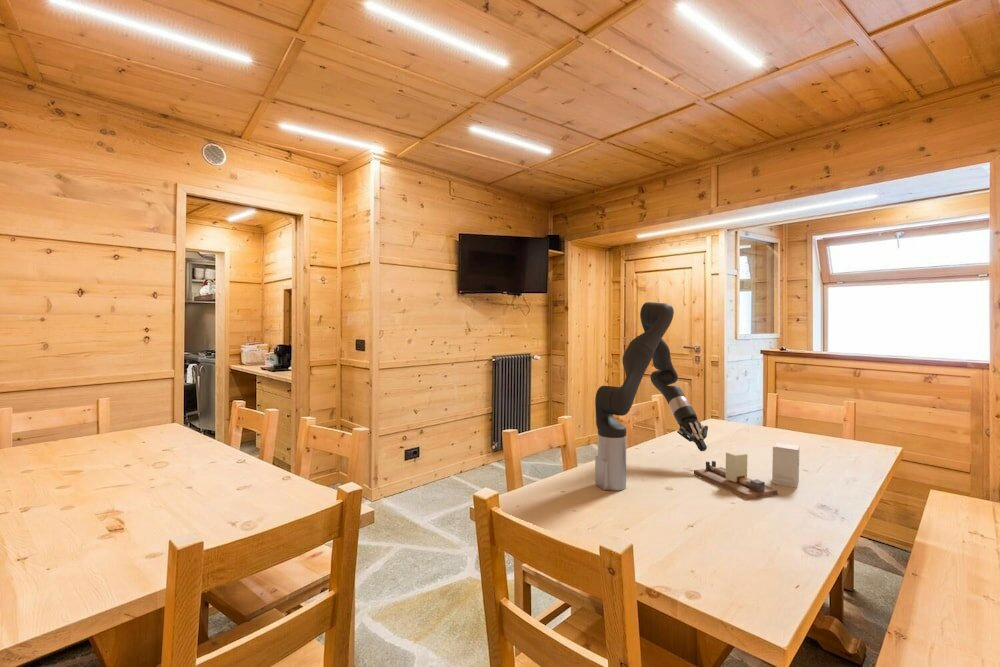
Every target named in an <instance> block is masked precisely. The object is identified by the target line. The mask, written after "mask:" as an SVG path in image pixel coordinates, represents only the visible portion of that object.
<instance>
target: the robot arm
mask: <svg viewBox="0 0 1000 667" xmlns="http://www.w3.org/2000/svg"><path fill="white" fill-rule="evenodd" d="M674 313H675V311H674V308H673V306H672V305H671V304H669V303H665V302H664V303H663V302H654V301H653V302H652V301H647V302H644V303H643V304H642V305H641V308H640V312H639V316H640V323H641V325H642V328H643V331H644V332H642V333H640V334H639V335H637V336H636V337H634V338H633V339H632V340H630V342H629V343H628V345H627V347H626V349H625V350H624V353H623V355H622V359H621V360H622V366H623V369H624V373H625V379H624V381H623V383H622V385H621V386H613V385H612V386H611V385H601V386H599V388H598V389H597V390H596V394H595V399H594V400H595V401H594V402H595V403H594V406H595V424H596V428H597V455H595V459H594V460H595V461H594V462H595V463H594V465H595V466H594V468H595V469H594V484H595V485H596V486H597V487H599V488H600V489H602V490H604V491H622V490H625V489H626V488H627V427H626V426H625V425H624V424H622V423H621V422H620V421H618V420H617V419H616V418H615V417H614V416H620V417H621V416H626V415H627V414H628V413H629V412H630V410H631V408H632V406H633V403H634V400H635V398H636V396H637V392H638V390H639V386H640V384H641V382H642V379H643V377H644V375H645V373H646V370H647V369H648V367H649V365H650V363H651V361H652V364H653V367H654V368H655V369H656V370H655V371H653V372H651V374H650V376H649V377H650V381H651V384H652V385H653V386H654V387H655V389H657V390H658V392H660V393H661V395H663V397H664V399H665V400H666V402H667V404H668V406H669V409H670V411H671V413H672V415H673V417H674V419H675V421H676V423H677V424H678V425H679V428H678V430H677V431H676V432H677V434H679V435H680V436H681V437H683V439H685V440H687V441H688V442H690V443H691V442H693V443H694V444H695V445H696V448H697V449H698V450H699V451H700V452H705V451H706V450H707V449H708V446H707V444H706V442H705V441H704V440H705V439H706V438H707V436H708V429H709V427H708V425H704V424H701V422H700V421H699V419H698V415H697V414H696V411H695V410H694V408H693V407H692V405H691V403H690V401H689V400H688V399H687V396H686V395H685V394H684V392H683V390H682V388H681V387H680V386H678V385H673V384H676V382H677V381H678V379H679V374H678V373H677V370H676V369H675V367H674V366H673V363H672V357H671V350H670V347H669V345H668V344H667V343H666V341H665V340H664V339H663V337H664V335H665V334H666V333H667V331H668V329H669V327H670V326H671V323H672V321H673V318H674Z"/></svg>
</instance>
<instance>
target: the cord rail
mask: <svg viewBox="0 0 1000 667" xmlns="http://www.w3.org/2000/svg"><path fill="white" fill-rule="evenodd" d="M694 474H695V475H694ZM693 475H694V476H696V475H697V477H698V476H699V477H698V478H700V477H701V479H703V478H704V479H703V480H705V479H706V480H705V481H707V480H708V481H707V482H709V481H710V482H709V483H711V482H712V484H713V483H714V484H713V485H715V484H716V486H718V487H720V488H722V489H724V488H725V489H724V490H726V489H727V491H728V490H729V492H730V491H731V493H733V494H735V495H738V496H739V495H740V496H739V497H742V498H743V497H744V498H743V499H745V498H746V500H751V499H750V498H752V499H757V498H759V499H760V498H765V497H766V498H767V497H772V496H774V497H775V496H778V495H779V490H778V489H775V488H773V487H771V486H769V485H766V482H765V481H763V480H760V479H758V478H757V479H751V478H749V477H747V480H746V479H745V478H742V477H741V478H740V477H738V476H737V482H733V481H731V480H729V479H726V467H725V468H724V467H723V466H720V467H719V466H718V467H717V462H716V461H715V460H711V462H710V461H705V468H702V469H694V470H693Z"/></svg>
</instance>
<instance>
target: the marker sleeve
mask: <svg viewBox="0 0 1000 667" xmlns="http://www.w3.org/2000/svg"><path fill="white" fill-rule="evenodd" d="M725 469H726V479H729V480H731V481H733V482H737V476H738V477H740V478H741V477H742V478H745V479H746V480H747V478H748V454H747V453H745V452H742V451H739V450H735V451H733V450H732V451H726V452H725Z"/></svg>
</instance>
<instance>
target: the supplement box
mask: <svg viewBox="0 0 1000 667" xmlns="http://www.w3.org/2000/svg"><path fill="white" fill-rule="evenodd" d="M771 470H772V471H771V472H772V473H771V474H772V475H771V476H772V477H771V478H772V480H771V483H772V484H775V485H781V486H784V487H785V486H786V487H791V488H798V485H799V480H800V445H798V444H791V443H782V442H774V444H773V447H772V469H771Z"/></svg>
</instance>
